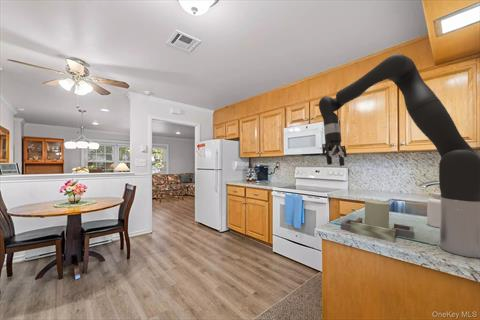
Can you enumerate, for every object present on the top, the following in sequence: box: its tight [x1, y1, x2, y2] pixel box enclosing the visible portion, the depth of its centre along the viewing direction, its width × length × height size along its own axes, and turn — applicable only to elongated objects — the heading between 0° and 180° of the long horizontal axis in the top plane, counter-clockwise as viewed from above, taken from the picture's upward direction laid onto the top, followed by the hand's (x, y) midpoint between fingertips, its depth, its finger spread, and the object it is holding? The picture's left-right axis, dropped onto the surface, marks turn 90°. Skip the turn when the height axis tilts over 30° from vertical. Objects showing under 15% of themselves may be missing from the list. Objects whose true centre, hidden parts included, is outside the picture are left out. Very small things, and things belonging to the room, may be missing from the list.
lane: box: [349, 217, 399, 243], centre depth 85 cm, size 14×17×4 cm
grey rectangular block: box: [364, 199, 390, 229], centre depth 89 cm, size 9×9×12 cm
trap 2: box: [396, 223, 415, 239], centre depth 82 cm, size 5×8×2 cm, turn 139°
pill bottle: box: [426, 192, 441, 229], centre depth 93 cm, size 8×8×15 cm
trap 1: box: [340, 218, 357, 232], centre depth 89 cm, size 4×9×2 cm, turn 139°
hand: (336, 165), depth 101 cm, fingers open, 8 cm apart
